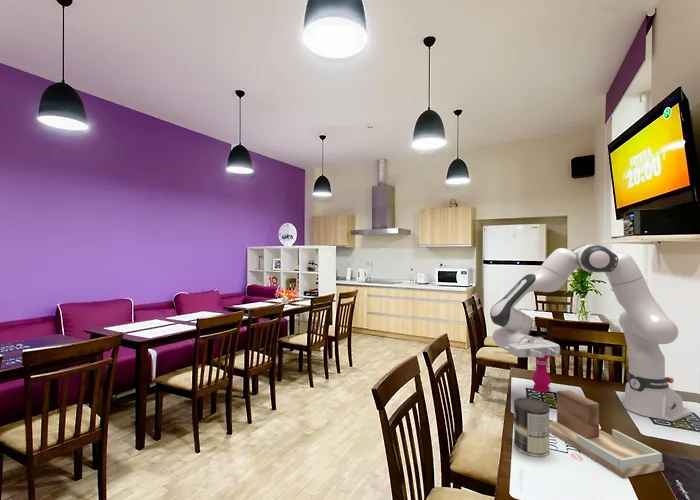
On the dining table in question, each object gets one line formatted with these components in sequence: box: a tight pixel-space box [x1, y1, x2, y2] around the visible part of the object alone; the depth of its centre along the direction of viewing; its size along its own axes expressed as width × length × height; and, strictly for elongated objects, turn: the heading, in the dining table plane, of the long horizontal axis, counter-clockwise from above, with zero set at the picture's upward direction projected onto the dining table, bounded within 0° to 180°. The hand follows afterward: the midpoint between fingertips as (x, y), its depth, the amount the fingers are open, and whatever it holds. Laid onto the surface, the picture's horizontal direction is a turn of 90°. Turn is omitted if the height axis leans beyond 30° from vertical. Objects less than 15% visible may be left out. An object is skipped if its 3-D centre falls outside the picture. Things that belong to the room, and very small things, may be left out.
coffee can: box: [513, 397, 551, 458], centre depth 115 cm, size 10×10×14 cm
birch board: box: [549, 420, 665, 479], centre depth 115 cm, size 15×29×2 cm, turn 14°
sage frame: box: [577, 428, 663, 470], centre depth 109 cm, size 15×14×2 cm
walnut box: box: [556, 389, 600, 439], centre depth 123 cm, size 5×12×11 cm, turn 14°
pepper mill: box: [532, 355, 552, 393], centre depth 163 cm, size 7×7×20 cm
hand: (549, 354), depth 134 cm, fingers open, 5 cm apart
